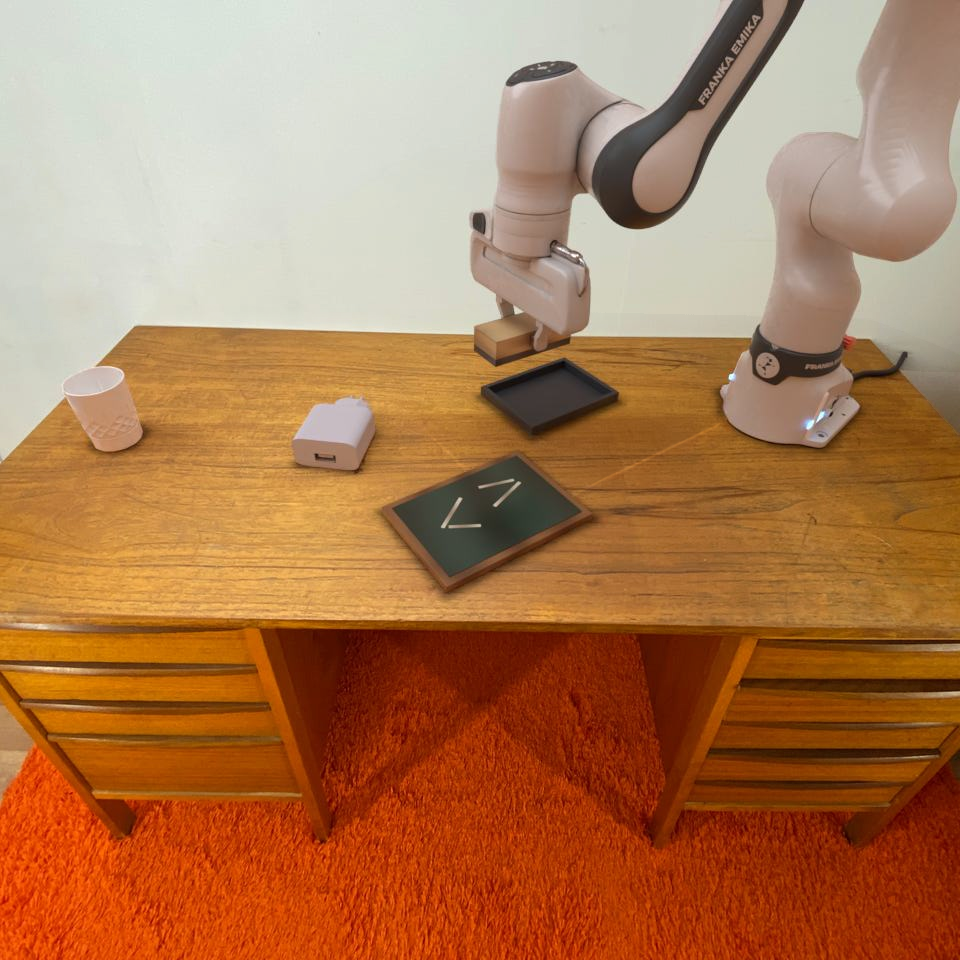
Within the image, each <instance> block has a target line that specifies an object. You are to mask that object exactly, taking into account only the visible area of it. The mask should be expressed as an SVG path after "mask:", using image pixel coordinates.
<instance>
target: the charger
mask: <svg viewBox="0 0 960 960" xmlns="http://www.w3.org/2000/svg"><path fill="white" fill-rule="evenodd" d="M364 398H365V397H364V396H363V395H360V397H359V398H355V397H354V395H352V394H350V395H349V397H342V398H340V399H337V400H335V402H334V403H318V404H315V405H314V406H312V408H311V410H310V411H309V412H308V414H307V416H306V418H305V419H304V420H303V422H302V424H301V425H300V427H299V428H298V430H297V431H296V433H295V435H294V436H293V438H292V439H291V441H290V444H291V448H292V449H291V450H292V453H293V458H294V461H295V462H296V463H297V464H300V465H301V466H307V467H315V468H323V469H332V470H342V471H355V470H357V469H359V467H360V465H361V463H362V461H363V459H364V457H365V455H366V452H367V450H368V448H369V446H370V444H371V443H372V440H373V438H374V436H375V434H376V430H377V429H376V421H375V413H374V412H373V411H372V410H371V409H370V408H371V404H370V403H368V402H366V401H365V400H364Z"/></svg>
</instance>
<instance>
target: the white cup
mask: <svg viewBox="0 0 960 960" xmlns="http://www.w3.org/2000/svg"><path fill="white" fill-rule="evenodd" d="M60 387H61V388H60V389H61V391H62V393H63V395H64V396H65V398H66V400H67V402H68V403H69V405H70V407H71V409H72V411H73V413H74V416H75V417H76V418H77V419H78V422H79V423H80V425H81V427H82V429H83V430H84V433H86V434H87V436H88V437H89V440H90V441H91V443H92V445H93V446H94V448H95V449H96V450H98V451H102V452H107V453H110V452H112V453H113V452H118V451H122V450H126V449H128V448H131V447H132V446H134V445H136V444H137V443H138V442H139V441H140V440H141V439H142V437H143V433H144V431H143V427H142V425H141V422H140V419H139V416H138V415H139V414H138V411H137V408H136V403H135V402H134V399H133V396H132V393H131V390H130V386H129V384H128V381H127V377H126V375H125V373H124V371H123V370H122V369H121V368H118V367H115V366H110V365H101V366H100V365H99V366H91V367H88V368H85V369H82V370H79V371H77V372H74V373H73V374H71V375H69V376H68V377H67V378H65V379H64V380H63V382H62V383H61V386H60Z"/></svg>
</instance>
